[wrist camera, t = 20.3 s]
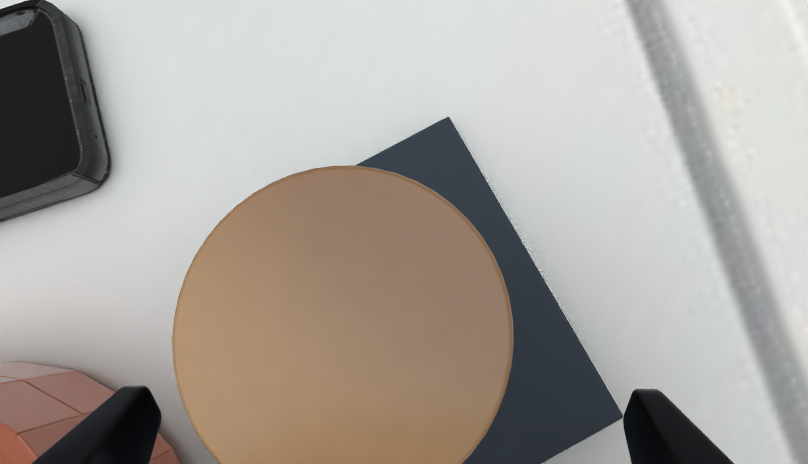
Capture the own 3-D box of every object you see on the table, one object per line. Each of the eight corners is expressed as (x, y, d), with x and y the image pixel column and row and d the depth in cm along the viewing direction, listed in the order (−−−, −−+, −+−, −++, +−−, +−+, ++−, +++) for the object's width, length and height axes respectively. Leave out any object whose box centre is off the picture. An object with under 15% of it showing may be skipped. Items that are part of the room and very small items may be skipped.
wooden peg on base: (439, 423, 17) (473, 774, 4) (303, 351, 17) (-40, 459, 5) (504, 283, 17) (715, 205, 5) (372, 218, 18) (236, -10, 5)
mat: (617, 414, 17) (624, 417, 17) (358, 557, 17) (356, 566, 16) (447, 121, 19) (448, 115, 19) (213, 245, 19) (205, 243, 18)
